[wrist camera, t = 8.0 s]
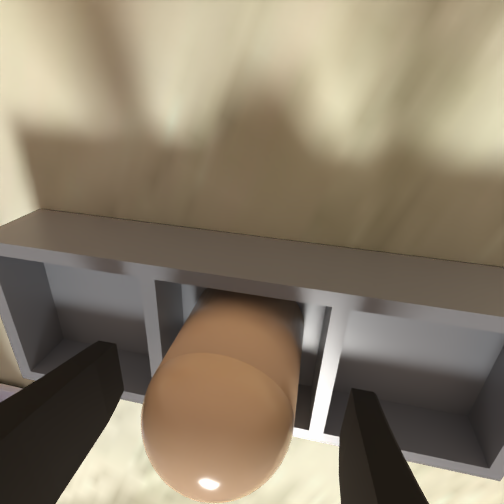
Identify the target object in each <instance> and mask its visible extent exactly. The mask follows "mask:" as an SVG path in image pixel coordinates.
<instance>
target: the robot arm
mask: <svg viewBox="0 0 504 504" xmlns="http://www.w3.org/2000/svg"><path fill="white" fill-rule="evenodd" d="M123 392H124V384H123V379H122V373H121V367H120V362H119V356H118V350H117V345H116V344H115V343H110V342H105V341H97V342H95V343H94V344H92V345H90V346H89V347H87V348H86V349H84V350H83V351H81V352H79V353H78V354H76V355H75V356H73V357H72V358H70V359H69V360H67V361H66V362H64V363H63V364H61V365H60V366H58V367H57V368H55V369H53V370H52V371H50V372H49V373H47V374H46V375H44V376H42V377H41V378H39V379H38V380H36V381H35V382H33V383H32V384H30V385H28V386H27V387H25V388H24V389H23V388H19V387H14V386H10V385H5V384H1V383H0V504H56V502H57V501H58V499H59V497H60V496H61V494H62V493H63V491H64V490H65V488H66V486H67V485H68V483H69V482H70V480H71V479H72V477H73V476H74V474H75V473H76V471H77V470H78V468H79V467H80V465H81V464H82V462H83V461H84V459H85V458H86V456H87V454H88V453H89V451H90V450H91V448H92V447H93V445H94V444H95V442H96V441H97V439H98V438H99V436H100V434H101V433H102V431H103V430H104V428H105V427H106V425H107V423H108V422H109V420H110V418H111V416H112V414H113V412H114V410H115V408H116V406H117V404H118V402H119V400H120V398H121V396H122V394H123ZM339 482H340V495H341V504H429V503H428V501H427V499H426V498H425V496H424V494H423V492H422V490H421V488H420V487H419V485H418V483H417V481H416V479H415V477H414V475H413V473H412V471H411V469H410V467H409V465H408V463H407V461H406V459H405V457H404V456H403V453H402V451H401V449H400V447H399V445H398V443H397V441H396V439H395V437H394V435H393V432H392V430H391V428H390V426H389V424H388V421H387V419H386V417H385V414H384V412H383V409H382V407H381V405H380V402H379V400H378V397H377V395H376V394H375V393H374V392H372V391H366V390H361V389H356V388H351V392H350V395H349V399H348V403H347V407H346V411H345V415H344V419H343V423H342V427H341V431H340V437H339Z"/></svg>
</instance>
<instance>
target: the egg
mask: <svg viewBox="0 0 504 504" xmlns="http://www.w3.org/2000/svg"><path fill="white" fill-rule="evenodd" d="M303 335H304V319H303V315H302V312H301V310H300V308H299V306H298V304H297V303H296V301H290V300H284V299H277V298H271V297H264V296H258V295H251V294H245V293H238V292H232V291H225V290H219V289H212V288H206V289H205V290H204V292H203V293H202V295H201V296H200V298H199V300H198V301H197V303H196V305H195V306H194V308H193V310H192V311H191V313H190V315H189V316H188V318H187V320H186V321H185V323H184V325H183V326H182V328H181V330H180V332H179V333H178V335H177V337H176V338H175V340H174V342H173V343H172V345H171V347H170V348H169V350H168V352H167V353H166V355H165V357H164V358H163V360H162V362H161V363H160V365H159V367H158V368H157V370H156V372H155V373H154V375H153V377H152V379H151V381H150V383H149V385H148V388H147V391H146V394H145V397H144V400H143V405H142V412H141V432H142V439H143V443H144V447H145V450H146V454H147V456H148V458H149V460H150V462H151V464H152V466H153V468H154V470H155V471H156V472H157V474H158V475H159V476H160V477H161V479H162V480H163V481H164V482H165V483H166V484H167V485H168V486H169V487H171V488H172V489H173V490H175V491H176V492H178V493H179V494H181V495H183V496H185V497H187V498H190V499H192V500H196V501H200V502H206V503H224V502H230V501H234V500H237V499H240V498H242V497H244V496H247V495H249V494H251V493H252V492H254V491H255V490H257V489H258V488H260V487H261V486H262V485H263V484H265V483H266V482H267V481H268V480H269V479H270V478H271V477H272V475H273V474H274V473H275V472H276V470H277V469H278V467H279V466H280V465H281V463H282V461H283V459H284V457H285V455H286V453H287V451H288V448H289V445H290V443H291V439H292V435H293V429H294V422H295V412H296V403H297V393H298V384H299V374H300V364H301V355H302V345H303Z"/></svg>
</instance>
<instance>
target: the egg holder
mask: <svg viewBox="0 0 504 504" xmlns="http://www.w3.org/2000/svg"><path fill="white" fill-rule="evenodd" d="M206 288H212V289H219V290H225V291H232V292H238V293H245V294H251V295H258V296H264V297H271V298H277V299H284V300H290V301H296V303H297V304H298V306H299V308H300V310H301V312H302V315H303V319H304V335H303V345H302V355H301V364H300V374H299V384H298V393H297V403H296V412H295V422H294V429H293V435H292V436H294V437H298V438H303V439H308V440H312V441H317V442H321V443H326V444H331V445H335V446H339V437H340V431H341V427H342V423H343V419H344V415H345V411H346V407H347V403H348V399H349V395H350V392H351V388H356V389H361V390H366V391H372V392H374V393H375V394H376V395H377V397H378V400H379V402H380V405H381V407H382V409H383V412H384V414H385V417H386V419H387V421H388V424H389V426H390V428H391V430H392V432H393V435H394V437H395V439H396V441H397V443H398V445H399V447H400V449H401V451H402V453H403V456H404V457H405V459H406V461H409V462H414V463H419V464H423V465H428V466H432V467H437V468H442V469H446V470H451V471H456V472H460V473H465V474H469V475H474V476H479V477H483V478H488V479H492V480H497V481H501V479H502V478H503V476H504V268H503V267H495V266H487V265H480V264H472V263H464V262H456V261H448V260H440V259H432V258H424V257H416V256H408V255H401V254H393V253H385V252H377V251H369V250H361V249H353V248H345V247H337V246H329V245H322V244H314V243H306V242H298V241H290V240H282V239H274V238H266V237H258V236H250V235H243V234H235V233H227V232H219V231H211V230H203V229H195V228H187V227H179V226H171V225H163V224H156V223H148V222H140V221H132V220H124V219H116V218H108V217H100V216H92V215H84V214H77V213H69V212H61V211H53V210H45V209H38V210H36V211H34V212H32V213H29V214H27V215H25V216H23V217H20V218H18V219H16V220H14V221H11V222H9V223H7V224H5V225H2V226H0V316H1V319H2V321H3V324H4V327H5V330H6V333H7V335H8V338H9V341H10V344H11V346H12V349H13V352H14V355H15V357H16V360H17V363H18V366H19V368H20V371H21V374H22V377H23V378H26V379H30V380H35V381H36V380H38V379H39V378H41V377H42V376H44V375H46V374H47V373H49V372H50V371H52V370H53V369H55V368H57V367H58V366H60V365H61V364H63V363H64V362H66V361H67V360H69V359H70V358H72V357H73V356H75V355H76V354H78V353H79V352H81V351H83V350H84V349H86V348H87V347H89V346H90V345H92V344H94V343H95V342H97V341H105V342H110V343H115V344H116V345H117V350H118V356H119V362H120V367H121V373H122V379H123V384H124V392H123V394H122V396H121V398H120V399H123V400H127V401H132V402H137V403H141V404H143V400H144V397H145V394H146V391H147V388H148V385H149V383H150V381H151V379H152V377H153V375H154V373H155V372H156V370H157V368H158V367H159V365H160V363H161V362H162V360H163V358H164V357H165V355H166V353H167V352H168V350H169V348H170V347H171V345H172V343H173V342H174V340H175V338H176V337H177V335H178V333H179V332H180V330H181V328H182V326H183V325H184V323H185V321H186V320H187V318H188V316H189V315H190V313H191V311H192V310H193V308H194V306H195V305H196V303H197V301H198V300H199V298H200V296H201V295H202V293H203V292H204V290H205V289H206Z"/></svg>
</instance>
